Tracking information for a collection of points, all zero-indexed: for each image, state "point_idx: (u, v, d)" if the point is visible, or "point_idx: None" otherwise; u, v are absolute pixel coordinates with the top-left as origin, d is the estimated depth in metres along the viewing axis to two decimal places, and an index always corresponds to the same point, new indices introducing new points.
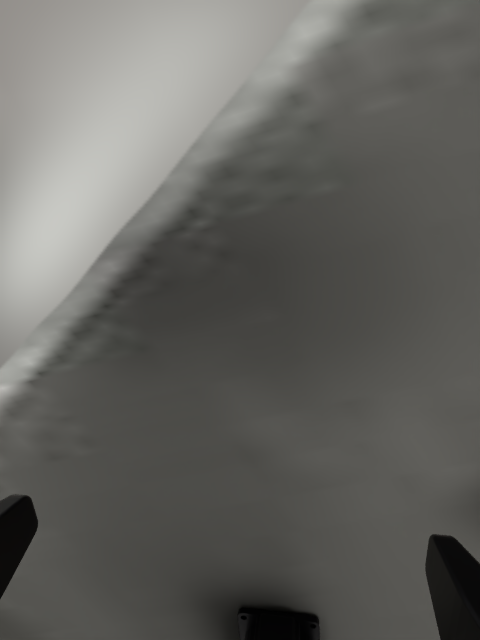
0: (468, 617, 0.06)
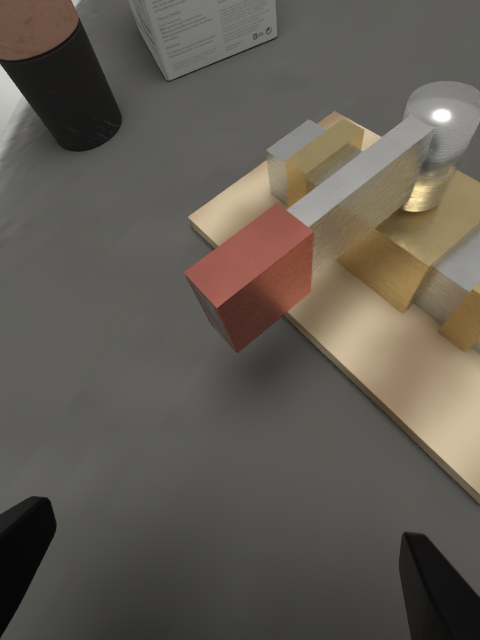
0: (432, 613, 0.06)
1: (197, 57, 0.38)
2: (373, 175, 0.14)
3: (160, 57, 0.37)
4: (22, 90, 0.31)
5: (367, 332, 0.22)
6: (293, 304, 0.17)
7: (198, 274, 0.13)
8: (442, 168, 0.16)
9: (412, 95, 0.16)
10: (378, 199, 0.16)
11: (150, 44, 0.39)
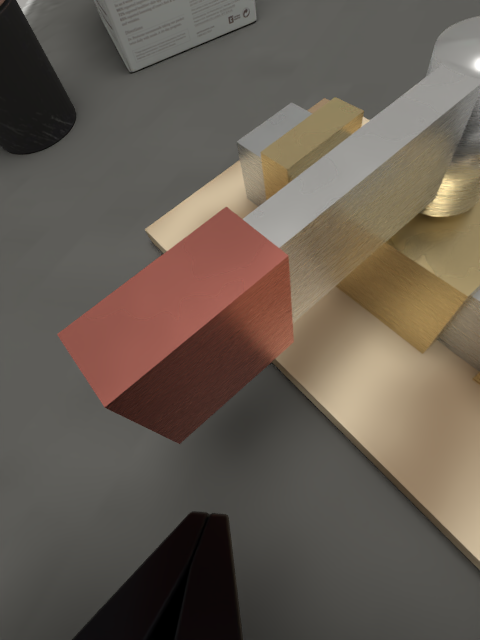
0: None
1: (164, 44, 0.33)
2: (389, 157, 0.08)
3: (120, 44, 0.32)
4: None
5: (376, 380, 0.16)
6: (266, 362, 0.11)
7: (81, 338, 0.07)
8: None
9: (442, 37, 0.10)
10: (393, 199, 0.10)
11: (109, 31, 0.33)
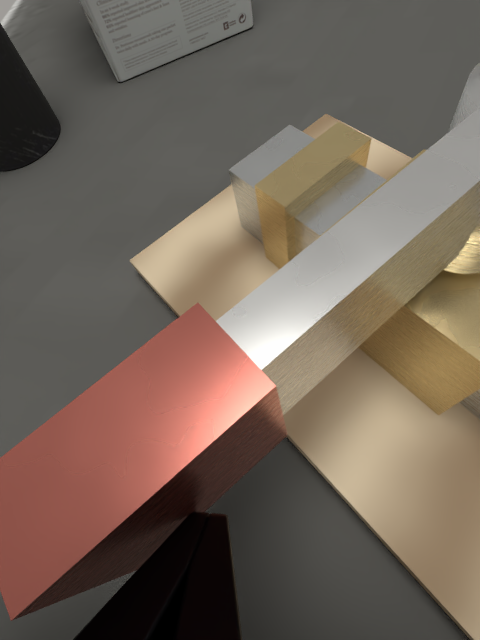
0: None
1: (155, 52, 0.31)
2: (411, 237, 0.06)
3: (107, 52, 0.30)
4: None
5: (386, 446, 0.14)
6: (254, 463, 0.09)
7: None
8: None
9: (477, 72, 0.08)
10: (412, 272, 0.08)
11: (96, 37, 0.31)
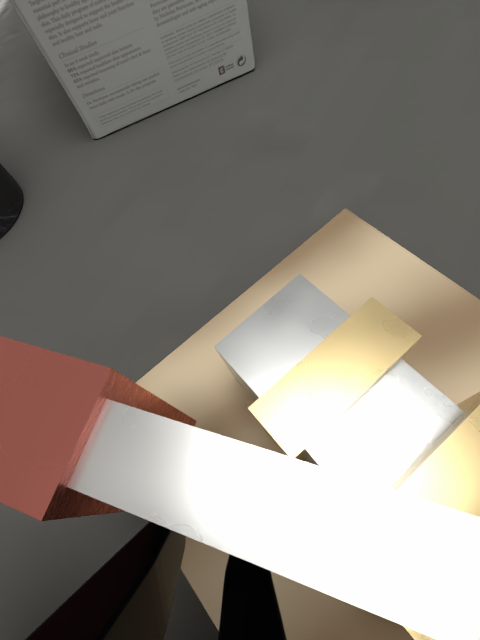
0: None
1: (135, 105, 0.25)
2: (346, 599, 0.04)
3: (77, 108, 0.24)
4: None
5: None
6: None
7: None
8: None
9: None
10: None
11: None
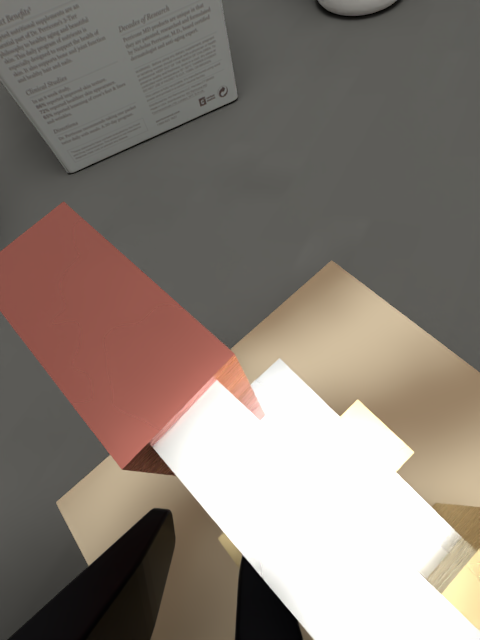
0: None
1: (111, 138, 0.24)
2: None
3: (48, 144, 0.23)
4: None
5: None
6: None
7: (53, 226, 0.06)
8: None
9: None
10: None
11: None
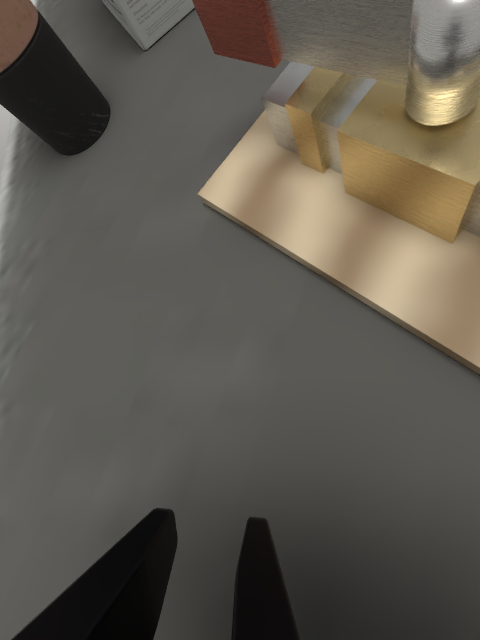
0: None
1: (169, 13, 0.35)
2: None
3: (131, 26, 0.34)
4: (7, 107, 0.31)
5: (415, 273, 0.20)
6: (258, 60, 0.20)
7: None
8: (414, 61, 0.14)
9: None
10: (346, 28, 0.15)
11: (117, 15, 0.36)
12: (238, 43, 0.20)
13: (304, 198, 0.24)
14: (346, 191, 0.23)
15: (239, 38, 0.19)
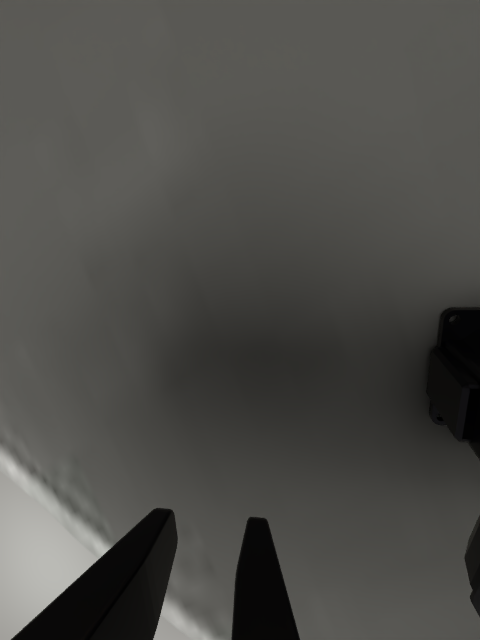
0: None
1: None
2: None
3: None
4: None
5: None
6: None
7: None
8: None
9: None
10: None
11: None
12: None
13: None
14: None
15: None
